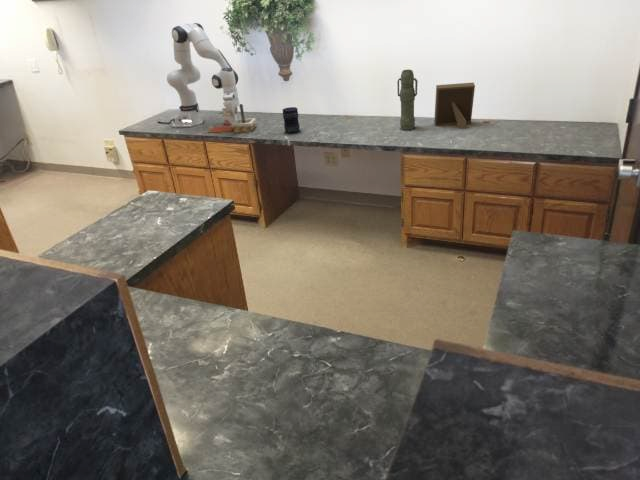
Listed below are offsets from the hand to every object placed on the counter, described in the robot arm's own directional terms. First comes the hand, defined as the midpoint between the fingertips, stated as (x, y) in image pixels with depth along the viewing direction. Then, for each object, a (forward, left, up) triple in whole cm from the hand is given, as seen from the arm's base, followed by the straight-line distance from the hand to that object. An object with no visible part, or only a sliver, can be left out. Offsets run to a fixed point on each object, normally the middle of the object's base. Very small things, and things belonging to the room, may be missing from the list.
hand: (234, 115), depth 337 cm
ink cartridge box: (-11, +25, -12) cm, 30 cm away
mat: (-13, +10, -12) cm, 20 cm away
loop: (+4, +6, -8) cm, 10 cm away
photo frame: (+141, -12, -12) cm, 142 cm away
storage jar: (+39, -6, -12) cm, 41 cm away
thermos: (+113, -12, -12) cm, 114 cm away
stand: (+4, +6, -12) cm, 14 cm away
